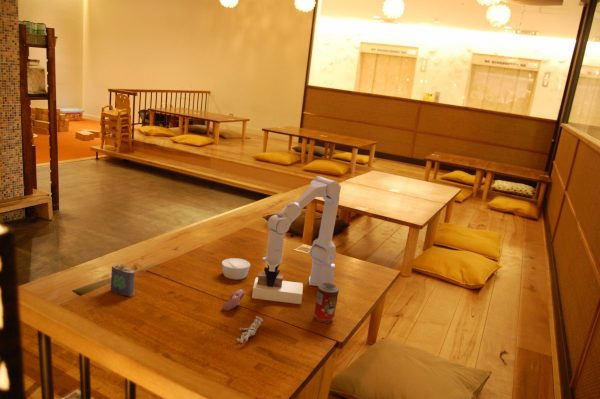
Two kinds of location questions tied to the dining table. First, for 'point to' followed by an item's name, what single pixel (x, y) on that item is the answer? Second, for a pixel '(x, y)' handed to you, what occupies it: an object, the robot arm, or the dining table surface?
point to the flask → (122, 281)
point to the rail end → (263, 280)
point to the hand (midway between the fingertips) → (270, 282)
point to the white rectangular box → (279, 292)
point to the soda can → (326, 302)
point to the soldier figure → (250, 330)
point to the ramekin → (235, 268)
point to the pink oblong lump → (233, 300)
